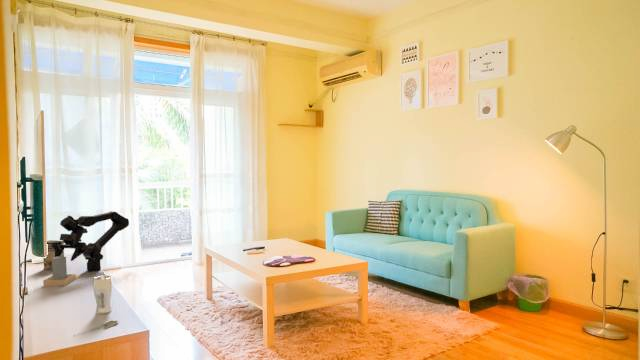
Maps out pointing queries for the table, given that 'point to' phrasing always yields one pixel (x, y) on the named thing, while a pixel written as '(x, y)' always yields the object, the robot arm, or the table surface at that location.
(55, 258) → the slate block
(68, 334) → the table surface
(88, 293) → the table surface
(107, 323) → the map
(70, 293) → the table surface
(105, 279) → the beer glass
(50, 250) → the coffee box
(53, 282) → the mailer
